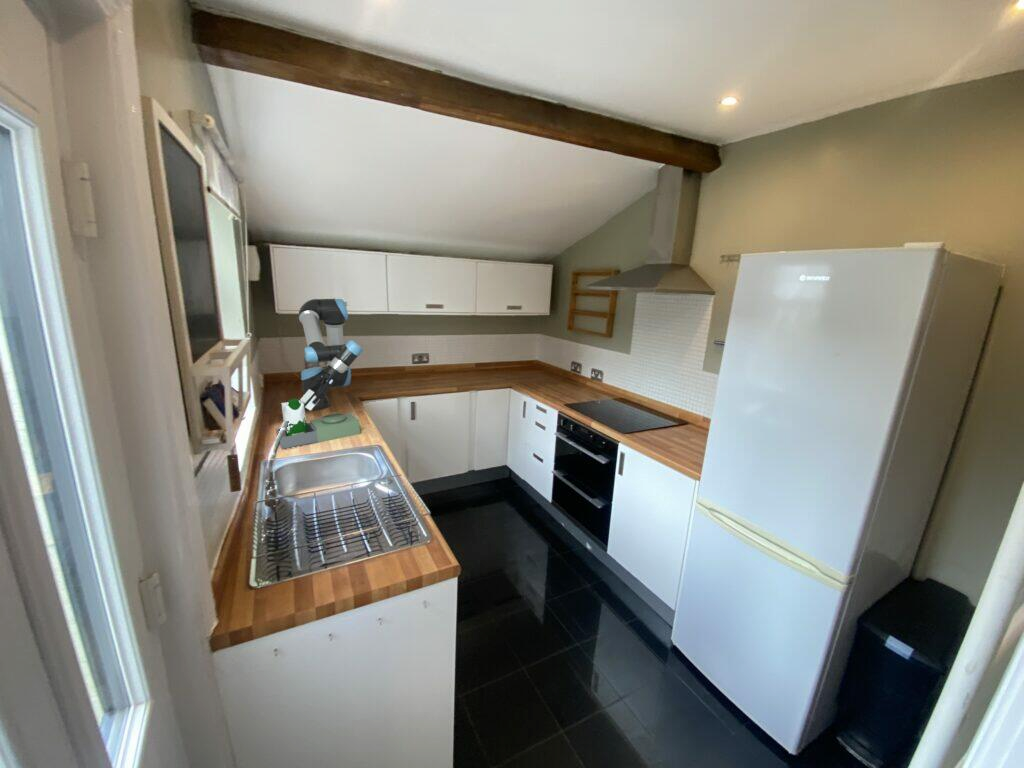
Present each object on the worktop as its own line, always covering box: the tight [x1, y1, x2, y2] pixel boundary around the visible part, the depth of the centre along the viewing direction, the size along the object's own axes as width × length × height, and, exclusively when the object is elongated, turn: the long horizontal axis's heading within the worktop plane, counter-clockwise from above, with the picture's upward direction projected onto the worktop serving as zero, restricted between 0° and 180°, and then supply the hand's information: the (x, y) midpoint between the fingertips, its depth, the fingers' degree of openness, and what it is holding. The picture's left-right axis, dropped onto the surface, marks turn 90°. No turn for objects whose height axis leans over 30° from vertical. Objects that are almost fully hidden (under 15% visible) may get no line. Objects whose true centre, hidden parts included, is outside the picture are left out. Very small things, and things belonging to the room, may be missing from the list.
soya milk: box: [280, 398, 308, 436], centre depth 185 cm, size 9×9×20 cm
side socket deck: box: [275, 412, 361, 450], centre depth 192 cm, size 34×15×9 cm, turn 127°
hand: (304, 405), depth 186 cm, fingers open, 13 cm apart
